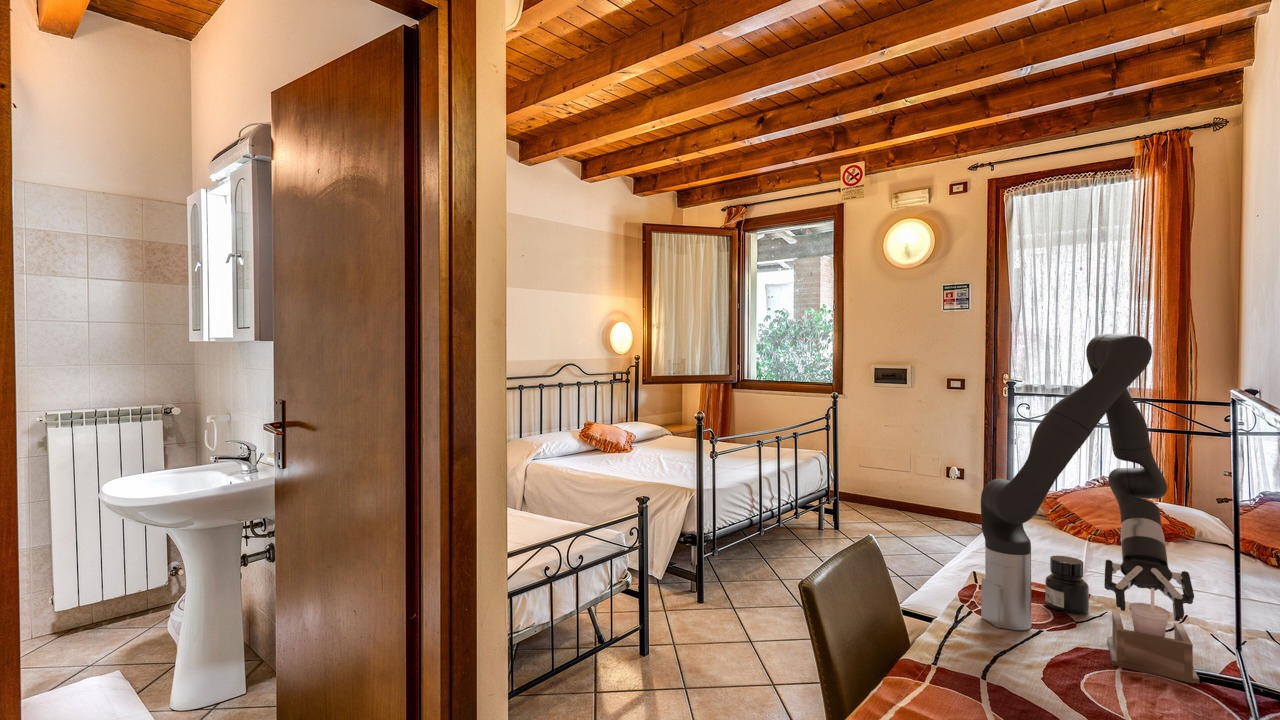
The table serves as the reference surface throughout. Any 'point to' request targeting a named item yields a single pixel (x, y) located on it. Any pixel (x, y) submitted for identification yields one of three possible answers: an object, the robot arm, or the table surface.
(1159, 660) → the bottle stand
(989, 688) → the table surface
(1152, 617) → the smoothie
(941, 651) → the table surface
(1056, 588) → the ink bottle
